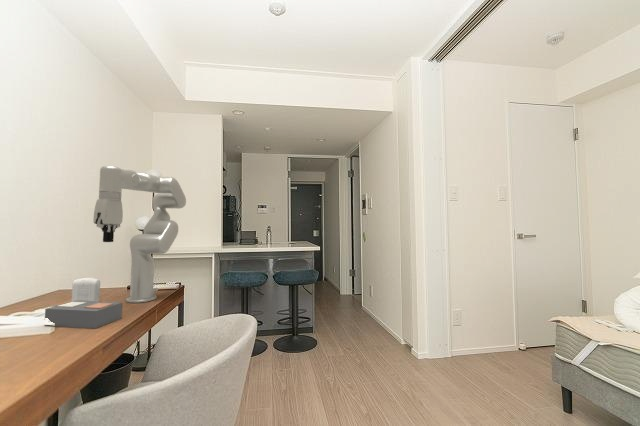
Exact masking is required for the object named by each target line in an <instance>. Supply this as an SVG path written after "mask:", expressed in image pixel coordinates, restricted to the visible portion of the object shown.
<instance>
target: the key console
mask: <svg viewBox="0 0 640 426" xmlns="http://www.w3.org/2000/svg"><path fill="white" fill-rule="evenodd" d="M70 302H71V301H69V302H68V303H70ZM72 302H87V303H86V304H83V305H79V306H76V307H72V308H70V307H57V306H59V305H62V304H63V303H62V304H58V305H55V306H50V307H46V308H45V309H44V319H45V318H48V319H49V320H50V321H51V322H53V323H55V326H54V327H57V328H75V329H76V328H79V329H80V328H81V329H98V328H100V327H103V326H106V325H108V324H111V323H113V322H116V321H118V320H121V319H123V317H122V316H123V302H122V301H121V302H119V301H101V300H99V301H78V300H76V301H72ZM66 303H67V302H66ZM66 303H64V304H66ZM97 303H112V304H113V305H110V306H107V307H104V308H101V309H93V308H85V307H87V306H90V305H94V304H97Z"/></svg>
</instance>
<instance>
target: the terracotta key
mask: <svg viewBox="0 0 640 426" xmlns="http://www.w3.org/2000/svg"><path fill="white" fill-rule="evenodd" d="M110 305H113V304H112V303H97V304H94V305H90V306H87V307H85V308H93V309H101V308H104V307H107V306H110Z"/></svg>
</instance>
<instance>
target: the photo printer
mask: <svg viewBox="0 0 640 426" xmlns="http://www.w3.org/2000/svg"><path fill="white" fill-rule="evenodd" d="M100 294H101V281H100V279H98V278H94V277H84V278H83V277H81V278H78V279H75V280H73V283H72V288H71V301H70V302H72V301H76V300H78V301H100Z"/></svg>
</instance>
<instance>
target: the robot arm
mask: <svg viewBox="0 0 640 426" xmlns="http://www.w3.org/2000/svg"><path fill="white" fill-rule="evenodd" d="M98 186H99V187H98V199H97V200H96V202H95V205H94V211H93V220H92V221H93V224H94V225H96V228H99V229H100V230H101V232H102V234H103V235H102V242H103V243H114V236H115V235H114V233H115V232H116V229H118V228H121V224H122V222H123V218H124V217H123V215H124V214H123V213H124V212H123V211H124V210H123V203H122V192H123V191H122V190H131V191H138V192H146V193H155V195H153V198H152V206H153V214H152V216H151V218H150V219H149V220H148V221H147V223H146V225H145V226H144V227H143V233H140V234H136V235H133V236H132V237H131V239H130V240H129V249H130V256H131V262H130V263H131V267H130V290H129V297H126V298H125V302H126V303H132V304H134V303H136V304H137V303H147V302H151V301H154V300H156V299H157V295H156V294H155V293H156V292H159V289H158V287H155V288H154V280H155V279H154V276H155V260H154V258H153V257H152V255H154V254H155V255H164V254H166V253H167V252H168V251H169V250H170V248H171V246H172V245H173V244H174V242H175V240H176V238H177V236H178V234H179V225H178V223H177V221H176V220H171V216H170V213H169V212H168V211H167V209H182V208H184V207H185V206H186V205H187V198H186V195H185V193H184V191H183V189H182V187H181V185H180V183H179V182H178V180H177V179H176V178H175V177H172V176H156V175H152V174H147V173H141V172H136V171H134V170H131V169H124V168H123V169H122V168H121V167H118V166H111V165H104V166H101V167H100V170H99V185H98Z"/></svg>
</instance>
